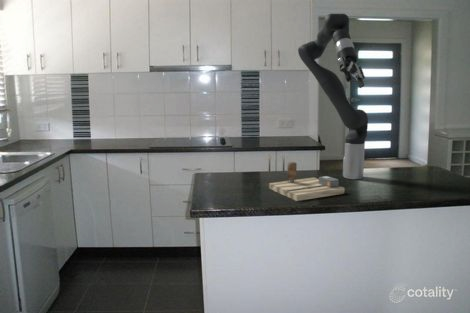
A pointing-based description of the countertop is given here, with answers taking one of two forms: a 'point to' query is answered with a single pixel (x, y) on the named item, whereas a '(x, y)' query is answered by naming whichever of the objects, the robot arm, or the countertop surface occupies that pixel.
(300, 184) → the board
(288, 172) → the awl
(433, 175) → the countertop surface
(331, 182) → the block
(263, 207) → the countertop surface
